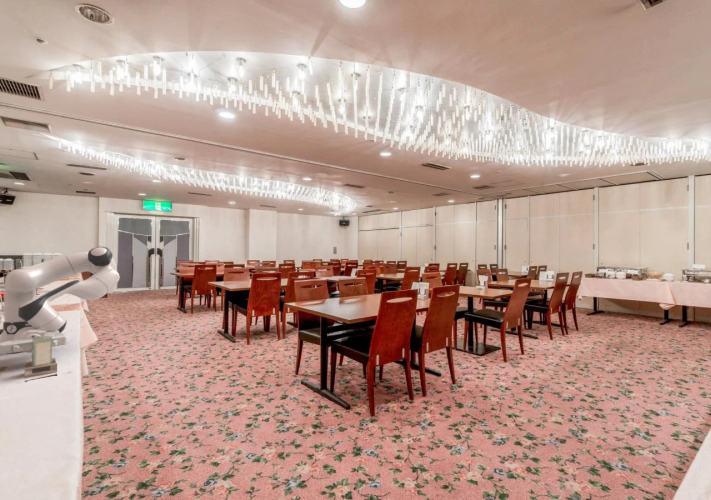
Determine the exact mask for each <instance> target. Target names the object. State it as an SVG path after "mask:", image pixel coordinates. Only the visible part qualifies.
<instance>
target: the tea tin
mask: <svg viewBox="0 0 711 500" xmlns="http://www.w3.org/2000/svg"><path fill="white" fill-rule="evenodd" d="M52 351H53V347H52V337H51V336H42V337H34V338H32V353H31V362H32V367H36V366H42V365H48V364H52V358H53V354H52Z"/></svg>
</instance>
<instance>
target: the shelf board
mask: <svg viewBox="0 0 711 500" xmlns="http://www.w3.org/2000/svg"><path fill="white" fill-rule="evenodd" d="M25 363H26V364H25V368H24V379H26V380H25V382H28V381H34V380H39V379H44V378H52V377H54V376H55V377H56V376H58V362H56V357H54V358H53V357H52V364H48V365H42V366H36V367H32V361H28V362H25ZM49 374H50V375H49ZM44 375H46V376H44ZM38 376H40V377H38ZM33 377H34V378H33ZM35 377H36V378H35ZM28 378H31V379H28ZM27 379H28V380H27Z"/></svg>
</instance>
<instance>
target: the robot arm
mask: <svg viewBox="0 0 711 500" xmlns="http://www.w3.org/2000/svg"><path fill="white" fill-rule="evenodd" d="M84 272H88V273H90V275H89V277H88V278H86V279H85V280H79V279H75V280H72V281H69V282H67V283H65V284H62V285H60V286H58V287H56V288H54V289H52V290H50V291H48V292H46V293H44V294H42V295H40V296H38V297H37V289H38V288H41V287H44V286H47V285H49V284H52V283H54V282H57V281H60V280H64V279H67V278H70V277H72V276H75V275H78V274H80V273H84ZM4 278H5V279H4V321H3V322H2V330H3V331H2V332H1V333H0V355H7V354H13V353H22V352H23V353H27V354H28V353H31V354H32V338H34V337H42V336H51V337H52V348H54V347H58V346H59V347H60V346H66V345H67V344H68V336H67V335H66V334H65V333H63V332H64V330H65V329H66V326H67V319H66V318H64V317H63V316H62V314H60V313H59V312H58V311H56V310H55V309H54V308H53V307H52V306H51V305H50V302H52V301H54V300H56V299H58V298H60V297H62V296H64V295H65V294H68V295H72V296H74V297H77V298H79V299H82V300H85V301H96V300H99V299H101V298H103V297H104V296H105V295H107V294H108V293H109V292H111V291H112V290H113V288H115V286H116V285H117V284H118V282H119V281H120V274H119V272H118V268H117V263H116V261H115V258H114V256H113V253H112V251H111V250H110V248H108V247H106V246H96V247H94V248H91V249H90V250H89V251H79V252H73V253H69V254H66V255H62V256H58V257H55V258H52V259H49V260H45V261H42V262H39V263H37V264H33V265H30V266H27V267H24V268H17V269H13V270H11V271H10V272H8V273H7V274H6V276H5V277H4Z"/></svg>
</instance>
